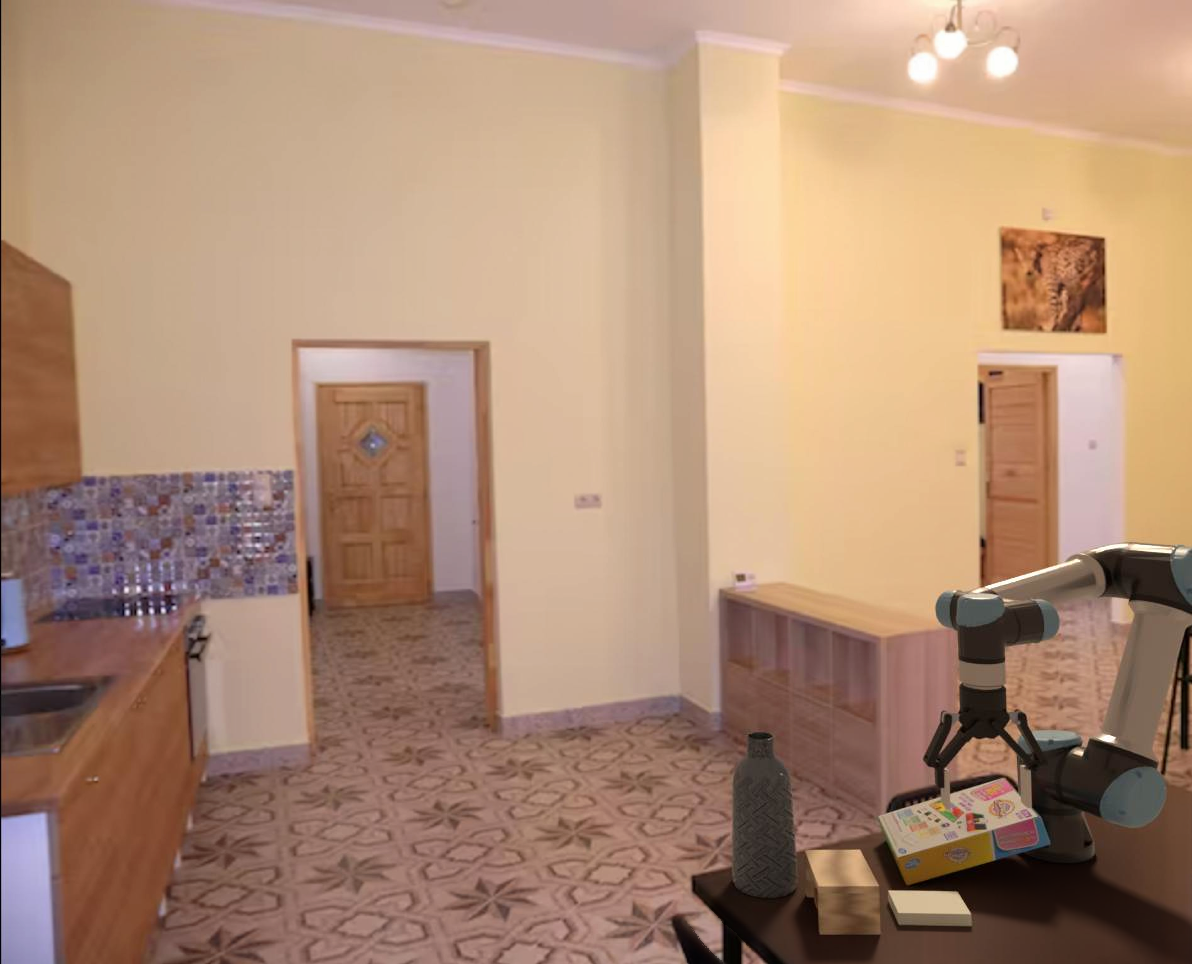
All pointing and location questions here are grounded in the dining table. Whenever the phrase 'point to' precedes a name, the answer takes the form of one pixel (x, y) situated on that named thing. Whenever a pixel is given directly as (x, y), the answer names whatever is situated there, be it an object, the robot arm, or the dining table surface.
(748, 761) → the vase
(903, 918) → the thin cream tile
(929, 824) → the game box
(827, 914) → the overhang
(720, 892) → the dining table surface
